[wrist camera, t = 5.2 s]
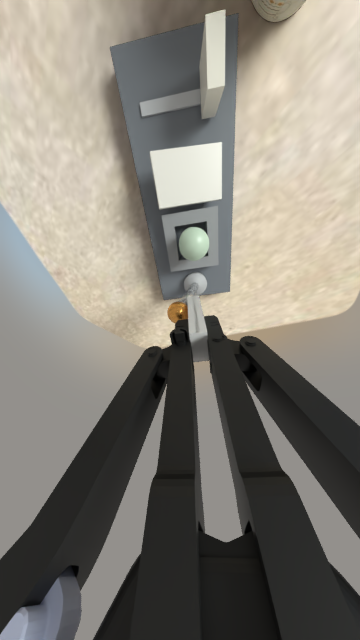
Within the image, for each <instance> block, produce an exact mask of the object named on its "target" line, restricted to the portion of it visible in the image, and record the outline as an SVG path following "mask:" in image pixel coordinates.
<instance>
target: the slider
mask: <svg viewBox="0 0 360 640" xmlns="http://www.w3.org/2000/svg"><path fill="white" fill-rule="evenodd" d="M225 13H226V9H224V10H220V11H217V12H213V13H209V14H205V23H204V31H203V40H202V48H201V57H200V65H199V70H200V93H201V116H202V119H206V118H211V117H215V115H216V112H217V109H218V106H219V103H220V99H221V96H222V93H223V90H224V87H225Z"/></svg>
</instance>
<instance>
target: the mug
mask: <svg viewBox="0 0 360 640" xmlns="http://www.w3.org/2000/svg"><path fill="white" fill-rule="evenodd" d="M305 1H306V0H252V3H253V5H254V7H255V9H256V11H257V12H258V13H259V14H260V15H261V16H262V17H263V18H264V19H266V20H268V21H271V22H279V21H283V20H285V19H287V18H288V17H290V16H291V15H293V14H294V13H295V12H296V11H297V10H298V9H299V8H300V7H301V6H302V5H303V4H304V2H305Z"/></svg>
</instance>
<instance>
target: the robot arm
mask: <svg viewBox="0 0 360 640" xmlns="http://www.w3.org/2000/svg"><path fill="white" fill-rule="evenodd" d="M187 303H188V319H182V320H178V321H177V322H176V324H175V330H173V331H172V332H171V333H170V338H171V342H172V345H171V346H169V347H167V348H165V349H161V348H160V347H158V346H152V347H149V348H148V349H146V350H145V351H144V353H143V354H142V356H141V357H140V359H139V360H138V362H137V363H136V365H135V366H134V368H133V369H132V371H131V372H130V374H129V376H128V377H127V379H126V380H125V382H124V383H123V385H122V386H121V388H120V390H119V391H118V392H117V394H116V395H115V397H114V398H113V400H112V402H111V403H110V405H109V406H108V408H107V409H106V411H105V412H104V414H103V415H102V417H101V418H100V420H99V421H98V423H97V425H96V426H95V428H94V429H93V431H92V432H91V434H90V435H89V437H88V438H87V440H86V441H85V443H84V444H83V446H82V448H81V449H80V451H79V452H78V454H77V455H76V457H75V458H74V460H73V461H72V463H71V464H70V466H69V467H68V469H67V471H66V472H65V474H64V475H63V477H62V478H61V480H60V481H59V483H58V484H57V486H56V487H55V489H54V490H53V492H52V493H51V495H50V496H49V498H48V500H47V501H46V503H45V504H44V506H43V507H42V509H41V510H40V512H39V513H38V515H37V516H36V518H35V520H34V521H33V523H32V524H31V526H30V527H29V528H28V529H27V530H26V531H25V532H24V533H23V535H22V536H21V537H20V538H19V539H18V540H17V541H16V542H15V544H14V545H13V546H12V547H11V548H10V549H9V550H8V551H7V553H6V554H5V555H4V556H3V557H2V558H1V560H0V640H74V637H75V634H76V632H77V629H78V626H79V623H80V619H81V611H82V610H81V593H80V591H81V589H82V587H83V585H84V584H85V582H86V580H87V578H88V577H89V574H90V573H91V570H92V569H93V566H94V564H95V563H96V560H97V558H98V556H99V554H100V552H101V550H102V548H103V545H104V543H105V541H106V538H107V536H108V534H109V531H110V529H111V526H112V523H113V521H114V519H115V516H116V513H117V511H118V508H119V505H120V503H121V501H122V498H123V495H124V492H125V490H126V487H127V485H128V482H129V480H130V477H131V475H132V472H133V470H134V467H135V464H136V462H137V459H138V457H139V454H140V451H141V449H142V446H143V444H144V441H145V439H146V436H147V433H148V431H149V428H150V426H151V423H152V421H153V418H154V415H155V413H156V410H157V408H158V405H159V402H160V400H161V397H162V395H163V392H164V390H165V387H166V384H167V390H166V398H165V407H164V415H163V424H162V433H161V441H160V450H159V459H158V466H157V472H156V475H155V476H154V478H153V481H152V484H151V488H150V493H149V500H148V507H147V515H146V522H145V530H144V537H143V544H142V551H141V554H140V555H139V556H138V558H137V559H136V561H135V562H134V564H133V565H132V567H131V569H130V571H129V573H128V574H127V576H126V578H125V580H124V582H123V584H122V585H121V587H120V589H119V591H118V593H117V595H116V597H115V599H114V601H113V603H112V605H111V607H110V608H109V610H108V612H107V614H106V616H105V618H104V620H103V622H102V623H101V626H100V627H99V629H98V631H97V633H96V635H95V637H94V639H93V640H360V596H359V595H358V593H357V592H356V591H355V590H354V589H353V588H352V586H351V585H350V584H349V583H348V582H347V581H346V579H345V578H344V577H343V576H342V575H341V574H340V573H339V572H338V571H337V570H336V569H335V568H334V567H333V566H332V565H331V564H330V563H329V562H328V560H327V558H326V555H325V553H324V551H323V548H322V546H321V544H320V542H319V539H318V537H317V535H316V533H315V530H314V528H313V526H312V523H311V521H310V519H309V517H308V514H307V512H306V510H305V507H304V505H303V503H302V501H301V498H300V496H299V494H298V492H297V490H296V488H295V486H294V484H293V482H292V481H291V479H290V478H289V476H288V475H287V474H286V473H285V472H284V471H283V470H282V468H281V467H280V464H279V462H278V460H277V458H276V455H275V452H274V451H273V448H272V445H271V443H270V440H269V438H268V435H267V433H266V431H265V428H264V426H263V423H262V421H261V419H260V416H259V414H258V411H257V409H256V407H255V404H254V402H253V399H252V397H251V395H250V392H249V389H248V387H247V384H248V385H249V387H250V388H251V390H252V391H253V392H254V394H255V395H256V397H257V398H258V399H259V401H260V402H261V403H262V405H263V406H264V407H265V409H266V410H267V412H268V413H269V415H270V416H271V417H272V418H273V420H274V421H275V423H276V424H277V426H278V427H279V428H280V430H281V431H282V432H283V434H284V435H285V437H286V438H287V439H288V441H289V442H290V443H291V445H292V446H293V448H294V449H295V450H296V452H297V453H298V455H299V456H300V457H301V459H302V460H303V461H304V463H305V464H306V466H307V467H308V468H309V470H310V471H311V472H312V474H313V475H314V476H315V478H316V479H317V481H318V482H319V483H320V485H321V486H322V488H323V489H324V490H325V492H326V493H327V495H328V496H329V497H330V498H331V500H332V501H333V503H334V504H335V505H336V507H337V508H338V510H339V511H340V512H341V514H342V515H343V517H344V518H345V519H346V521H347V522H348V524H349V525H350V526H351V528H352V529H353V530H354V532H355V533H356V534H357V535H358V537H359V538H360V426H359V425H357V424H356V423H355V422H354V421H353V420H352V419H351V418H350V417H348V416H347V415H346V414H345V413H344V412H342V411H341V410H340V409H339V408H338V407H337V406H336V405H335V404H333V403H332V402H331V401H330V400H329V399H328V398H327V397H325V396H324V395H323V394H322V393H321V392H319V391H318V390H317V389H316V388H315V387H314V386H313V385H311V384H310V383H309V382H308V381H307V380H305V378H303V377H302V376H301V375H300V374H299V373H298V372H297V371H295V370H294V369H293V368H292V367H291V366H290V365H288V364H287V363H286V362H285V361H284V360H283V359H282V358H280V357H279V356H278V355H277V354H276V353H275V352H273V351H272V350H271V349H270V348H269V347H268V346H267V345H265V344H264V343H263V342H262V341H261V340H260V339H258V338H256V337H253V336H245V337H243V338H241V340H240V341H233V340H230V339H227V337H226V336H225V335H224V334H223V331H222V328H221V326H220V323H219V320H218V318H217V317H216V316H214V315H213V316H204V315H203V311H202V306H201V302H200V297H199V295H196V296H189V297H187ZM209 360H210V373H211V374H212V379H213V384H214V389H215V393H216V398H217V403H218V408H219V413H220V418H221V423H222V428H223V433H224V438H225V443H226V448H227V453H228V458H229V462H230V467H231V473H232V477H233V482H234V487H235V493H236V499H237V507H238V513H239V518H240V524H241V529H242V533H243V536H241V537H239V538H236V539H234V540H232V541H230V542H222V541H220V540H218V539H216V538H214V537H211V536H209V535H207V534H205V527H204V513H203V502H202V491H201V474H200V458H199V442H198V425H197V409H196V393H195V376H194V365H193V362H199V361H209ZM245 381H246V382H245ZM246 383H247V384H246Z"/></svg>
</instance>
